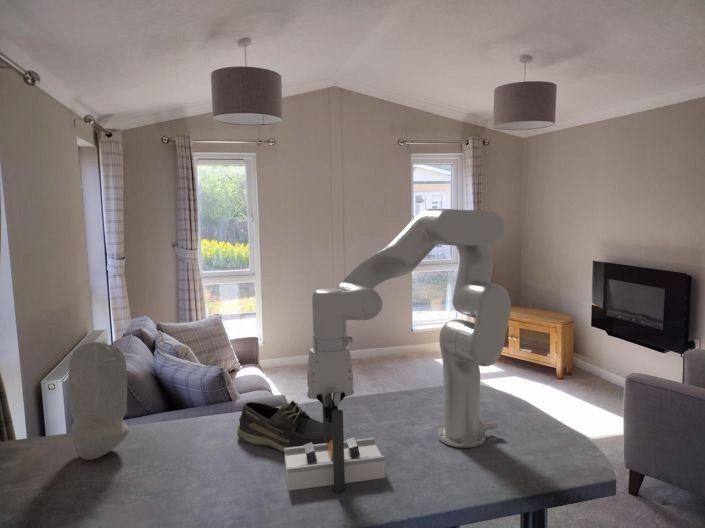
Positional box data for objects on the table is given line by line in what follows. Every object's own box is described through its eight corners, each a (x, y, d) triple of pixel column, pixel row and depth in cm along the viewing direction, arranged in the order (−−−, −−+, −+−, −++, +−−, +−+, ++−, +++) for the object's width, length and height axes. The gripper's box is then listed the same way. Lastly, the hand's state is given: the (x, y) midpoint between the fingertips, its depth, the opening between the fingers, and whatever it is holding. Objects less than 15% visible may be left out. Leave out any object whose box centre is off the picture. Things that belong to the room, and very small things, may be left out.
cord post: (343, 486, 113) (341, 408, 111) (345, 492, 111) (343, 413, 109) (333, 488, 113) (330, 410, 111) (335, 493, 110) (332, 414, 108)
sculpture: (62, 471, 123) (51, 350, 119) (77, 448, 134) (67, 337, 131) (129, 463, 126) (120, 345, 122) (138, 441, 137) (130, 333, 134)
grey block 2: (356, 446, 122) (353, 437, 121) (360, 455, 118) (357, 445, 117) (348, 449, 122) (345, 439, 121) (351, 458, 117) (349, 448, 117)
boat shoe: (331, 461, 125) (330, 419, 124) (227, 446, 134) (224, 407, 132) (345, 441, 135) (344, 402, 134) (247, 429, 144) (245, 392, 143)
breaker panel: (374, 456, 126) (373, 437, 126) (384, 477, 116) (384, 457, 116) (285, 467, 122) (284, 448, 121) (288, 490, 112) (287, 469, 111)
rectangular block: (336, 450, 121) (338, 440, 121) (339, 459, 117) (341, 449, 116) (328, 450, 121) (329, 440, 120) (331, 459, 116) (333, 448, 116)
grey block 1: (314, 451, 120) (312, 442, 120) (317, 460, 116) (314, 450, 115) (306, 454, 120) (303, 444, 119) (308, 463, 115) (305, 453, 115)
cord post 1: (332, 454, 128) (330, 385, 126) (334, 459, 125) (332, 388, 123) (323, 455, 127) (321, 386, 125) (324, 460, 125) (322, 389, 123)
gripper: (358, 337, 121) (359, 411, 123) (295, 341, 118) (297, 417, 120) (365, 345, 113) (366, 424, 115) (298, 350, 110) (300, 431, 112)
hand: (331, 420), depth 117 cm, fingers closed
